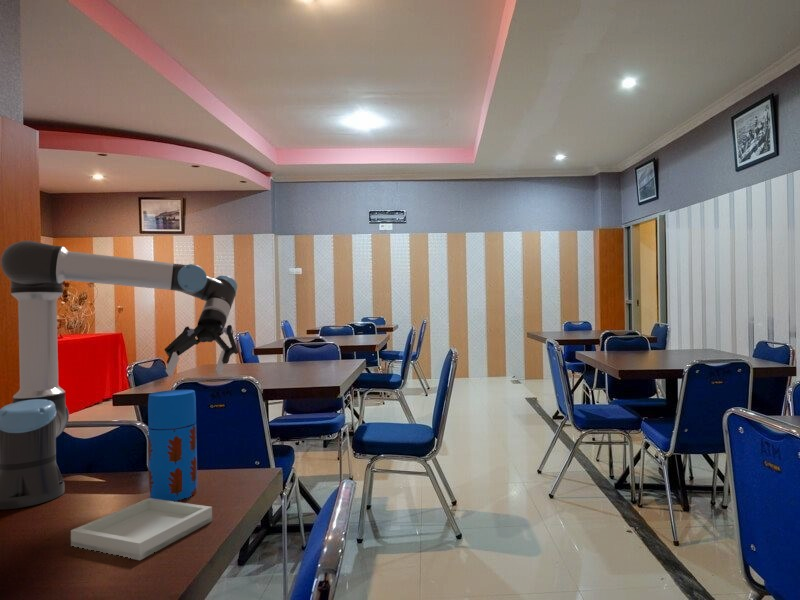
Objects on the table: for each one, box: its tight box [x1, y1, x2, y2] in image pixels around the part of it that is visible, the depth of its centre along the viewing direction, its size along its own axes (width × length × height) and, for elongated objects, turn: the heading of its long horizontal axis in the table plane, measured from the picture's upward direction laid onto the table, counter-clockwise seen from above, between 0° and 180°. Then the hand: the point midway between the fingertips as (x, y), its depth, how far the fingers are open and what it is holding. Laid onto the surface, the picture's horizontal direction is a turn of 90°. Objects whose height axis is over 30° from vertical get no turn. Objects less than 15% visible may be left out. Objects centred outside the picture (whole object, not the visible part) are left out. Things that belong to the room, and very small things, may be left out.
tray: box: [70, 497, 213, 561], centre depth 102 cm, size 18×18×3 cm
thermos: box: [147, 389, 198, 502], centre depth 124 cm, size 11×11×25 cm
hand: (193, 373), depth 135 cm, fingers open, 13 cm apart
